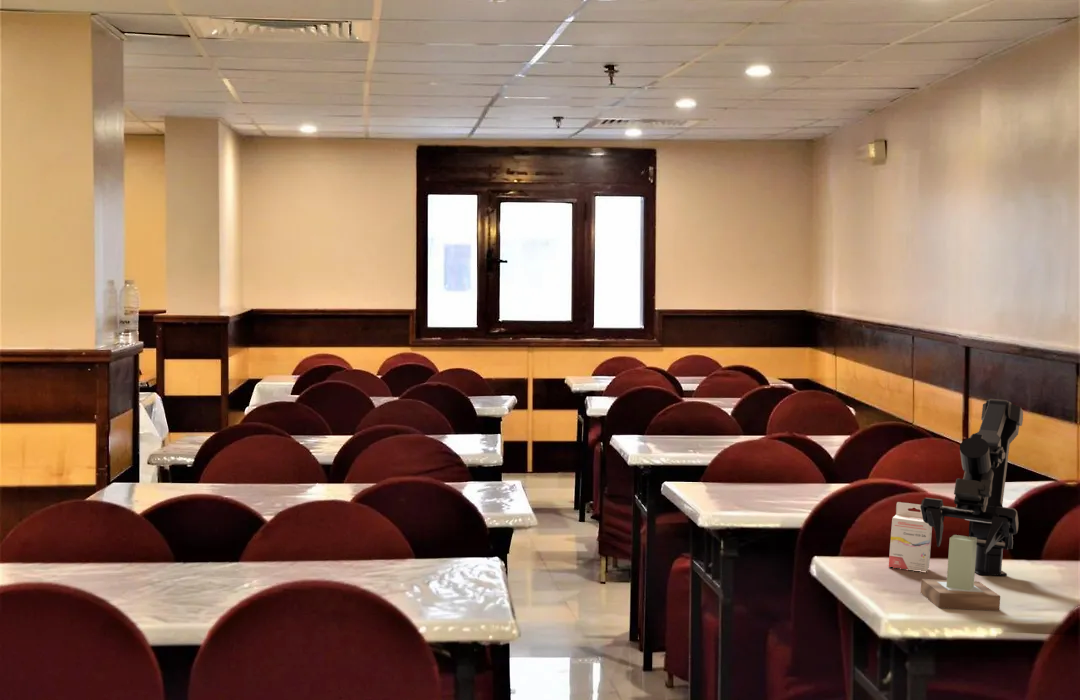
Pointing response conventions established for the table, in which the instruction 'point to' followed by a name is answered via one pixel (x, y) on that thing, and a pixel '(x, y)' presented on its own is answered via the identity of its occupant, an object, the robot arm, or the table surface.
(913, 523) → the ink cartridge box
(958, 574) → the sage pillar
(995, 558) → the robot arm
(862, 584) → the table surface
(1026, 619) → the table surface
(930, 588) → the walnut base plate
